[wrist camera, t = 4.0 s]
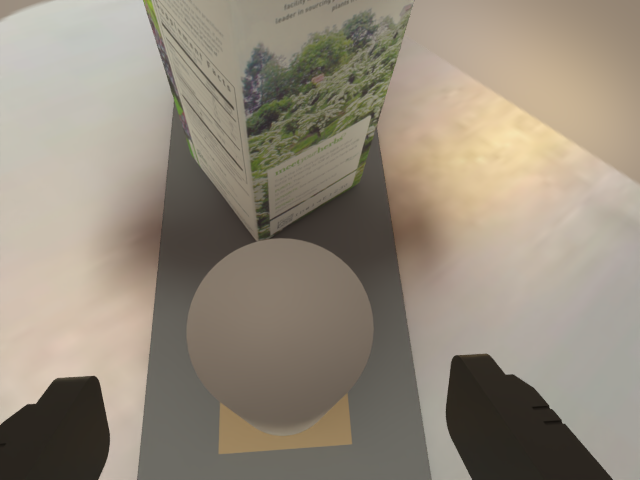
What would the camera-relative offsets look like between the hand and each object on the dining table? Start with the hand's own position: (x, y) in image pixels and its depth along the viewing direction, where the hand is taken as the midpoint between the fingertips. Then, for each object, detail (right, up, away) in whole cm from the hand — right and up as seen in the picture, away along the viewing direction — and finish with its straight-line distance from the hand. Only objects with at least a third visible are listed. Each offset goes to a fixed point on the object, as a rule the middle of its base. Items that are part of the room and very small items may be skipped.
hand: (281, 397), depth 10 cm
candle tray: (-1, +3, +9) cm, 9 cm away
